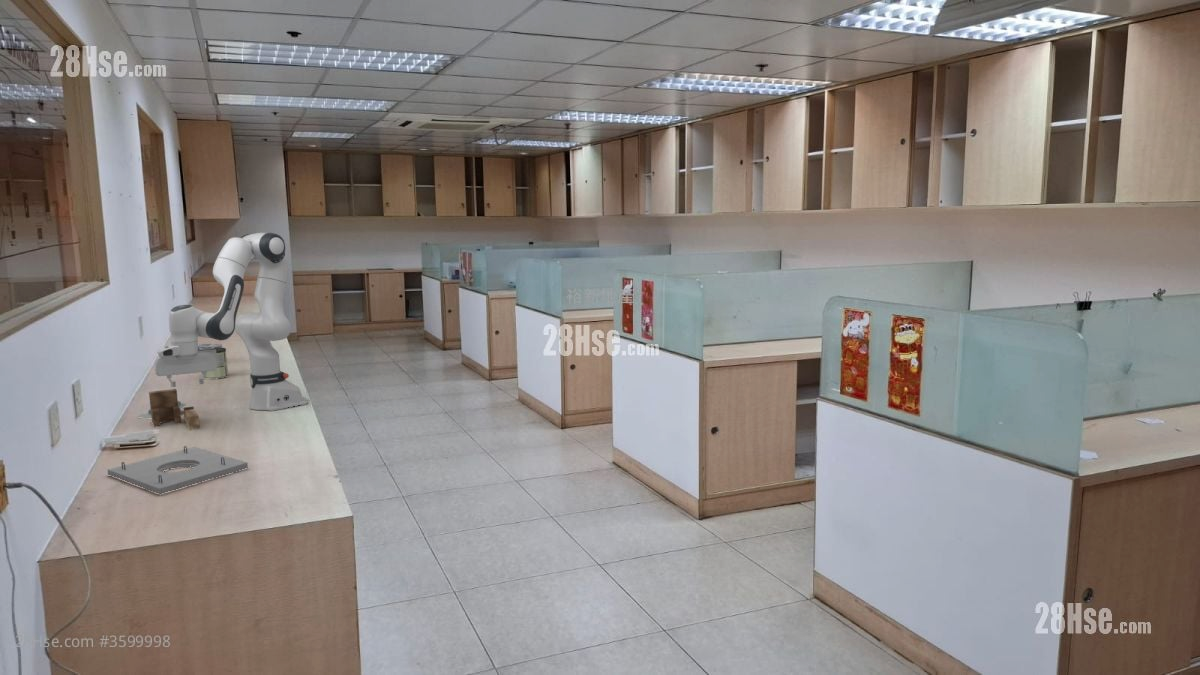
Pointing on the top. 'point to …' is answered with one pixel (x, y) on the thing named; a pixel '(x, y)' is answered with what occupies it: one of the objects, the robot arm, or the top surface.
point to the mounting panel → (161, 482)
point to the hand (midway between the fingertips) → (187, 385)
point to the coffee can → (219, 365)
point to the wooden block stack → (164, 407)
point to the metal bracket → (150, 411)
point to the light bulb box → (210, 345)
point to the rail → (191, 418)
